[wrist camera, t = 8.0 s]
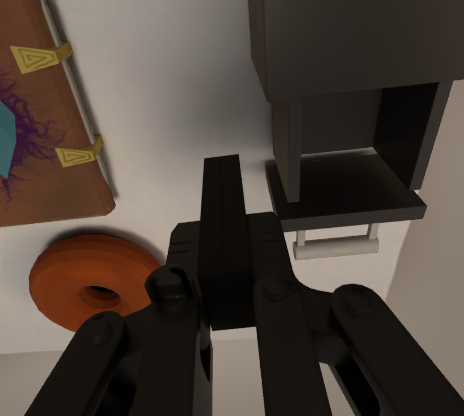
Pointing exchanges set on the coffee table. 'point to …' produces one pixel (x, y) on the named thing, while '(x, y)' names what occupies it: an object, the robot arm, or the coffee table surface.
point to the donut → (90, 279)
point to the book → (44, 126)
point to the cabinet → (354, 44)
